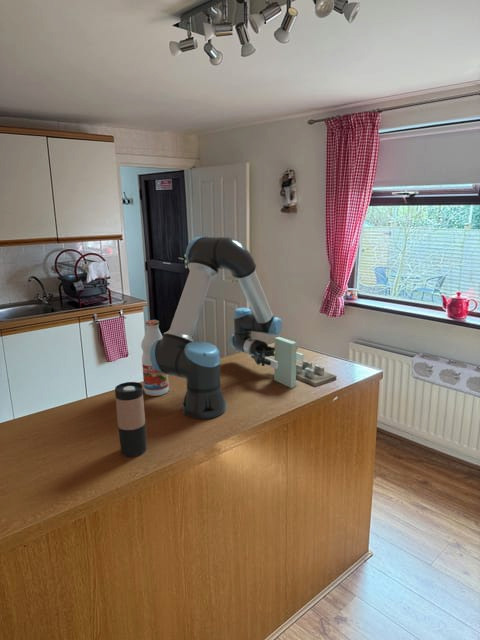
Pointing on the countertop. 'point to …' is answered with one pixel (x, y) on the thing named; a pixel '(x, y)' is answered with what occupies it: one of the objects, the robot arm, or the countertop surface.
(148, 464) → the countertop surface
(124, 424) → the travel mug
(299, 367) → the hinge base
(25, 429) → the countertop surface
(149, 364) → the fruit juice
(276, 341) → the door
